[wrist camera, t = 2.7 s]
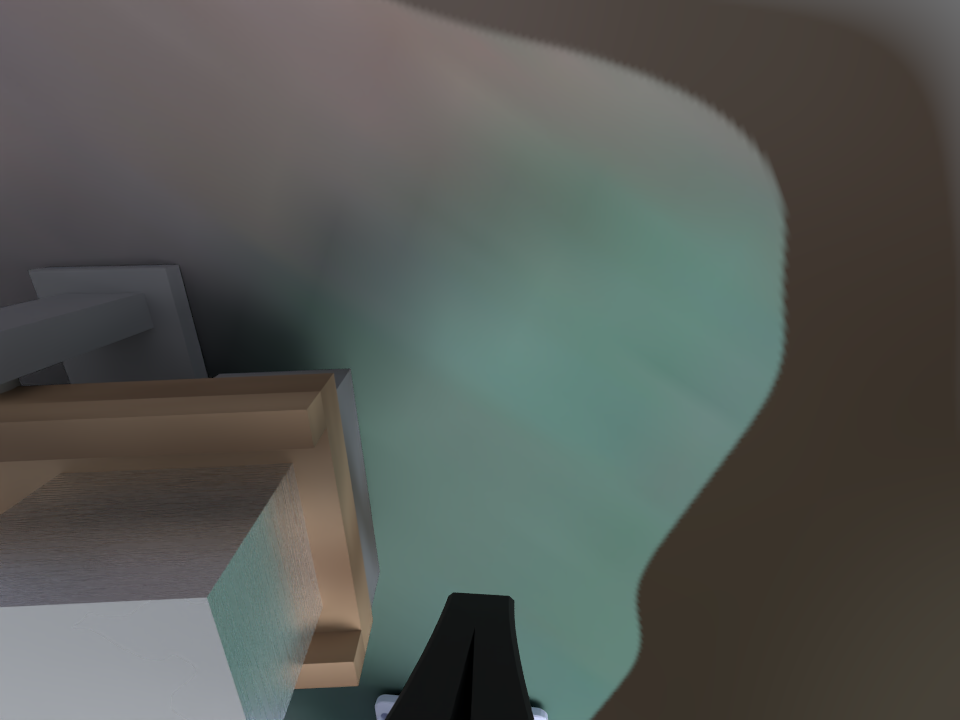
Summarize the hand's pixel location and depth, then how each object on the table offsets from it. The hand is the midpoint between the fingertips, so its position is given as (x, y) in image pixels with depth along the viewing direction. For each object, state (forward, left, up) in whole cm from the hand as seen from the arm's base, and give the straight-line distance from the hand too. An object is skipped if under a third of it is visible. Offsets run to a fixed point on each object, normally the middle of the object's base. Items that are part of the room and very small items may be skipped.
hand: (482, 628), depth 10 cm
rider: (0, +8, -2) cm, 8 cm away
